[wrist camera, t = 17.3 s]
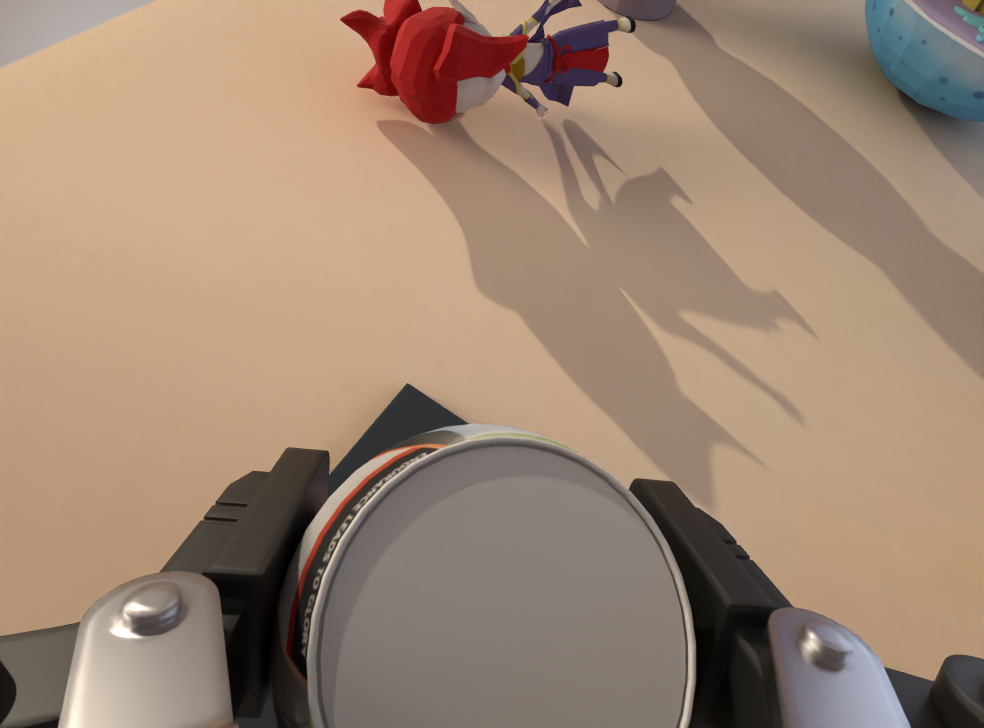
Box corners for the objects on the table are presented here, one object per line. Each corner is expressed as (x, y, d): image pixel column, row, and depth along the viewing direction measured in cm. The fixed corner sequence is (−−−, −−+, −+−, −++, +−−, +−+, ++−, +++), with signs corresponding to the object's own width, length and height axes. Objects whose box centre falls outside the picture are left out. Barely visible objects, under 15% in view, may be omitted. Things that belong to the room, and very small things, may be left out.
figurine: (637, 133, 30) (379, 170, 25) (570, 74, 35) (345, 97, 30) (674, 3, 25) (362, 22, 21) (590, -45, 30) (324, -37, 25)
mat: (498, 968, 14) (501, 979, 13) (159, 682, 15) (151, 683, 15) (668, 562, 19) (674, 560, 19) (407, 387, 21) (407, 382, 20)
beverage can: (402, 476, 19) (396, 258, 8) (574, 603, 17) (820, 533, 7) (272, 638, 16) (6, 614, 5) (467, 805, 14) (617, 1201, 4)
